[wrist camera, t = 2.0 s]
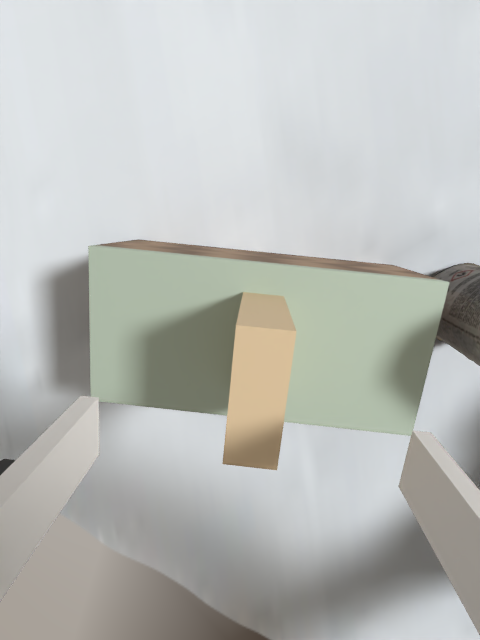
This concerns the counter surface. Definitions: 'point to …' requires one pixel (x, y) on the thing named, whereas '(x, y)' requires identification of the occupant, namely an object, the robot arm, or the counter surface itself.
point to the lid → (260, 343)
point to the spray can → (461, 310)
